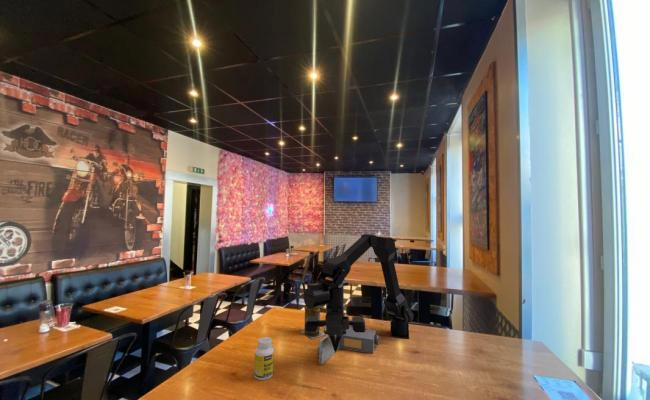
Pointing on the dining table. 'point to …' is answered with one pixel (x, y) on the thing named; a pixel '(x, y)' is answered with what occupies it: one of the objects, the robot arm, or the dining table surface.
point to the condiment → (317, 333)
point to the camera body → (359, 340)
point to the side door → (325, 349)
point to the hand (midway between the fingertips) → (335, 351)
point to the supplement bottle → (264, 359)
